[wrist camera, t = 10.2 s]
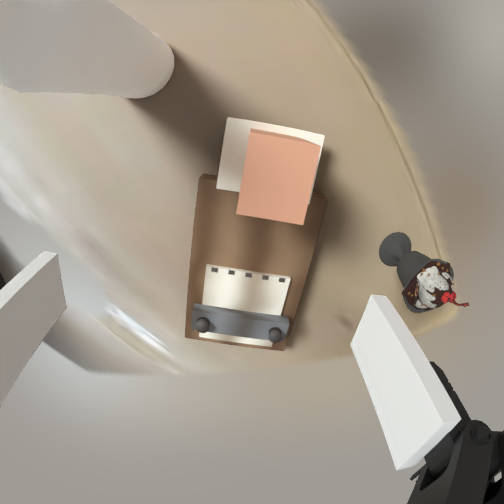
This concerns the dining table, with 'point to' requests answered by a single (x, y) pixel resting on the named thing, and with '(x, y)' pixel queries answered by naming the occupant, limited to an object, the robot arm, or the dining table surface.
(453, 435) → the robot arm
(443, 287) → the sundae
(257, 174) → the stub
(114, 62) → the bottle
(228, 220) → the board
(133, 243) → the dining table surface
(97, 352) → the dining table surface
